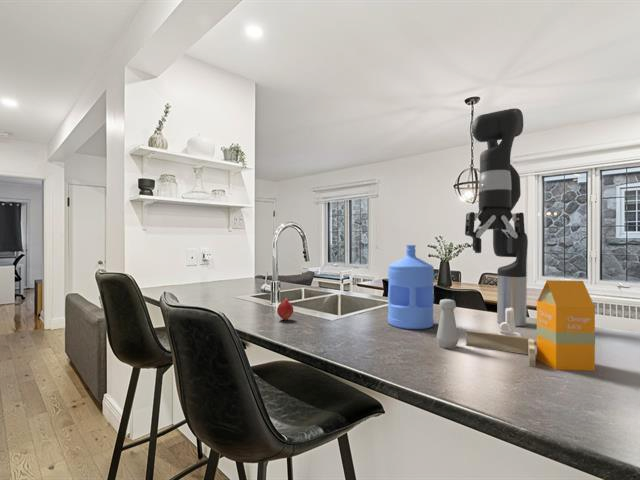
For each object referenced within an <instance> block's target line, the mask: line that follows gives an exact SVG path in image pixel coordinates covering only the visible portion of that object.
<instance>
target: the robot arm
mask: <svg viewBox="0 0 640 480" xmlns="http://www.w3.org/2000/svg"><path fill="white" fill-rule="evenodd" d="M523 130H524V115H523V112H522V110H520V108H514V107H513V108H509V109H502V110H497V111H493V112H489V113H484V114H483V113H482V114H479V115H478V116H477V117H475V118H474V120H473V122H472V127H471V133H472V136H473V138H474V139H475V141H477V142H479V143H486V145H487V149H485V150H483V151H482V152H481V153H480V155H479V156H480V157H479V179H478V213H477V212H474V211H470V212H468V213H467V212H466V215H465V229H464V235H465V236H467V237H470V238H472V251H474V253H475V254H481V253H482V238H481V236H483V234H484V233H485V232H486V231H487V230H492V248H493V253H494V254H495V256H496V257H500V258H501V257H502V258H515V260H514V261H513V262H512V263H510V264H507V265H504V266H499V267H498V268H497V281H496V282H497V290H496V291H497V295H496V296H497V305H496V306H497V307H496V308H497V309H496V310H497V311H496V314H497V315H496V322H497V323H498V324H499V325H500V324H501V323H502V322H506V316H505V309H506V308H513V309H514V324H515V327H526V326H527V286H528V285H527V284H528V283H527V276H528V275H527V266H528V263H527V260H528V258H527V257H528V245H529V241H528V240H529V239H528V235H527V233H526V231H525V230H526V229H525V214H524V212H523V211H522V212H515V213H513V212H512V211H513V209H514V208H515V207H516V205H517V203H518V202H519V199H520V197H521V196H522V195H521V193H522V191H521V177H520V175H519V172H518V171H517V170H516V168H515V167H514V166H513V164H511V153H512V149H513V148H512V147H513V144H514V140H515V138H516V137H518V136H520V135H521V134H522V133H523ZM500 140H501V141H500ZM498 141H500V142H498ZM476 220H479V222H480V223H479V224H478V225H477V226H476V228H475V222H476ZM511 220H512V222H513V225H512V224H511V223H510V221H511ZM513 226H514V227H513Z"/></svg>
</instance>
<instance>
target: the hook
mask: <svg viewBox="0 0 640 480" xmlns="http://www.w3.org/2000/svg"><path fill="white" fill-rule="evenodd" d="M505 316H506V322H502V323H501V324H500V323H499V328H500V331H498V332H497V334H502V335H510V336H518V337H524V335H523V334H522V333H520V332H516V331H515V330H516V326H515V324H514V309H513V308H506V309H505Z"/></svg>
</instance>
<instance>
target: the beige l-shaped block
mask: <svg viewBox="0 0 640 480" xmlns="http://www.w3.org/2000/svg"><path fill="white" fill-rule="evenodd" d="M465 335H466V336H465V343H466V344H465V345H466V346H469V347H474V348H482V349H489V350H497V351H501V352H502V351H503V352H511V353H517V354H522V355H523V354H526V355H528V367H533V368H536V346H535V345H536V344H535V340H534V338H533V337H525V336H523V337H518V336H510V335H502V334H498V333H493V332H483V331H476V330H469V329H468V330H467V329H466V332H465Z"/></svg>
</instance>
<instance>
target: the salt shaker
mask: <svg viewBox="0 0 640 480" xmlns="http://www.w3.org/2000/svg"><path fill="white" fill-rule="evenodd" d="M456 305H457V304H456V301H455V300H453V299H450V298H444V299H440V301H439V308H441V310H440V316H439V321H438V327H437V332H436V341H437V343H438V346H439V347H440V348H443V349H449V350H451V349H456V347H457V345H458V342H459V339H460V338H459V334H458V333H459V332H458V328H457V322H456V317H455V312H454V309H456V307H457V306H456Z"/></svg>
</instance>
